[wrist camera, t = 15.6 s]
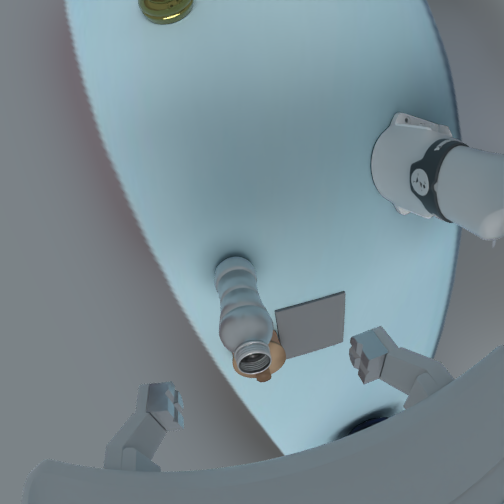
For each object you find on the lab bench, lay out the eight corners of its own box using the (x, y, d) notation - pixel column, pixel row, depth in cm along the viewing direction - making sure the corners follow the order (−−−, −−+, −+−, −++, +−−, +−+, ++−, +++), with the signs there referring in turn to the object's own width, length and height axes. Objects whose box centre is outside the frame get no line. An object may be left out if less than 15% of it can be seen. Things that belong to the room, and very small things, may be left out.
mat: (344, 291, 50) (345, 292, 50) (341, 340, 57) (342, 341, 56) (274, 310, 49) (275, 312, 49) (282, 358, 56) (283, 360, 55)
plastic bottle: (261, 270, 45) (297, 360, 27) (230, 294, 46) (248, 389, 28) (237, 243, 42) (263, 330, 25) (204, 269, 43) (209, 365, 26)
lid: (281, 333, 46) (288, 352, 42) (287, 367, 51) (293, 384, 47) (226, 347, 46) (229, 367, 41) (239, 379, 50) (242, 398, 46)
